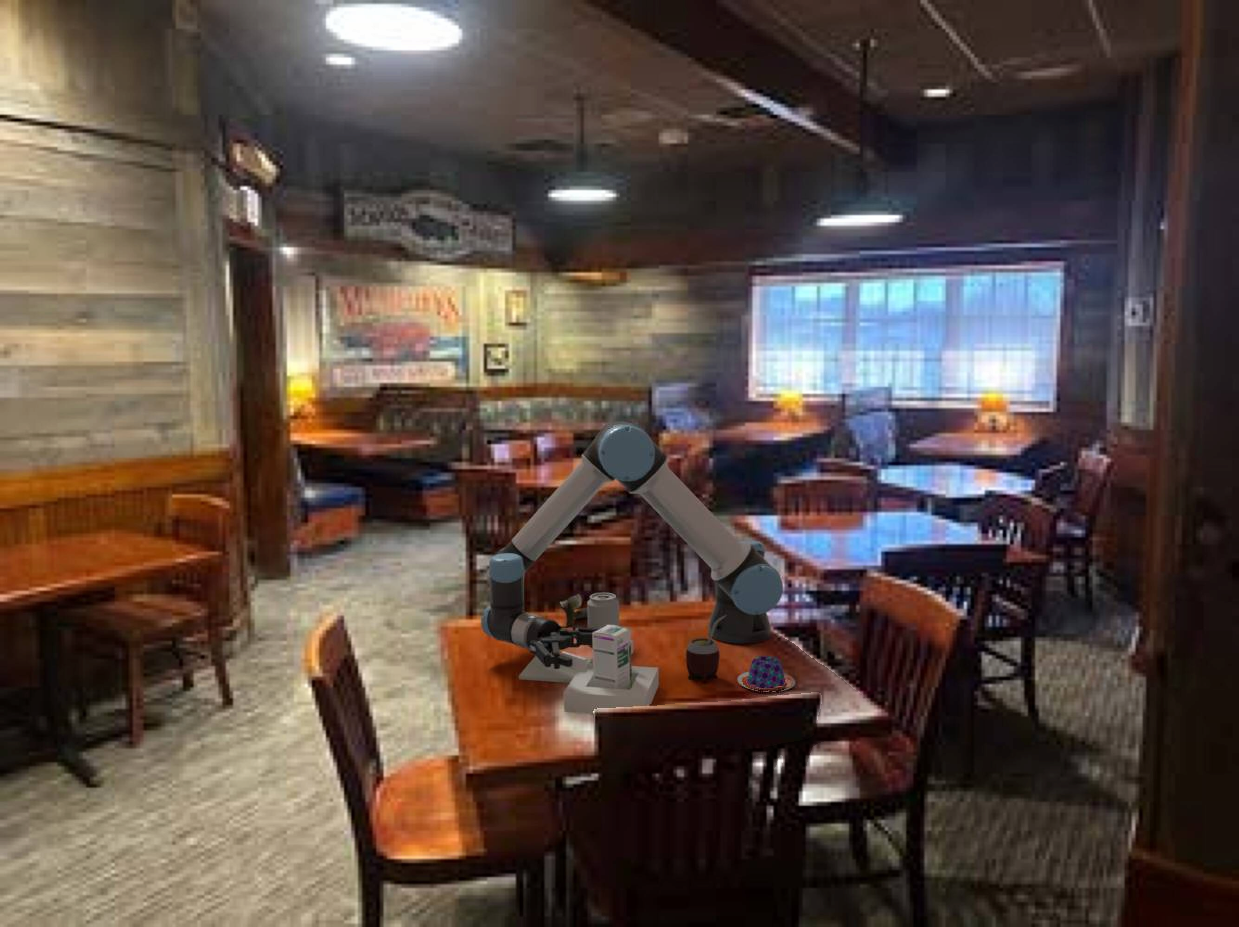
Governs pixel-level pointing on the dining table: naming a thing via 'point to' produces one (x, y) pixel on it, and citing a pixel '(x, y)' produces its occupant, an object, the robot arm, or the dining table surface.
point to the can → (602, 610)
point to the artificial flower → (569, 609)
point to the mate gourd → (703, 657)
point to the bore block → (610, 691)
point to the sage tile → (548, 672)
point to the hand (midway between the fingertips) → (609, 656)
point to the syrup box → (612, 657)
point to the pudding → (766, 673)
